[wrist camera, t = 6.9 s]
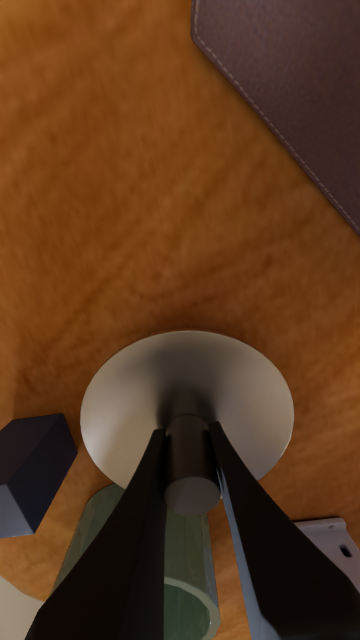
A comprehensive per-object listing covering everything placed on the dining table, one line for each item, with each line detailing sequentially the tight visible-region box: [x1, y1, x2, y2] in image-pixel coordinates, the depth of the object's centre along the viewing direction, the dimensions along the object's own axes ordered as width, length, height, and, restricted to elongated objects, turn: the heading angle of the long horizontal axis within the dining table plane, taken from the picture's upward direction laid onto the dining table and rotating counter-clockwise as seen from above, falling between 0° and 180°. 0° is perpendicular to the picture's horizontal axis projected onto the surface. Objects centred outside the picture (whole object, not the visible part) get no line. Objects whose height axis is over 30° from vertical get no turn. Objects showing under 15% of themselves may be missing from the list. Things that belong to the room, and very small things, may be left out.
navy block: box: [0, 414, 78, 538], centre depth 13 cm, size 4×4×5 cm
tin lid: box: [80, 328, 294, 515], centre depth 10 cm, size 13×13×4 cm
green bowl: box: [49, 483, 220, 640], centre depth 16 cm, size 12×12×5 cm
